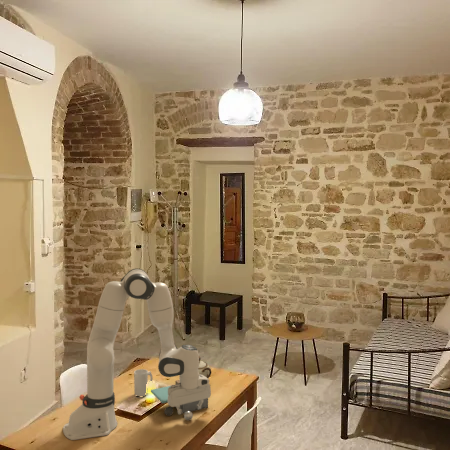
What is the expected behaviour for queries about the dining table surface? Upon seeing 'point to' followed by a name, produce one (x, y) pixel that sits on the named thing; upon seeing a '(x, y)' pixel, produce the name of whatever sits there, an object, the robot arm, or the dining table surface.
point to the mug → (141, 381)
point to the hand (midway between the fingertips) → (189, 411)
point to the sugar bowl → (204, 369)
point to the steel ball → (188, 415)
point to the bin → (193, 406)
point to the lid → (162, 393)
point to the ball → (168, 411)
